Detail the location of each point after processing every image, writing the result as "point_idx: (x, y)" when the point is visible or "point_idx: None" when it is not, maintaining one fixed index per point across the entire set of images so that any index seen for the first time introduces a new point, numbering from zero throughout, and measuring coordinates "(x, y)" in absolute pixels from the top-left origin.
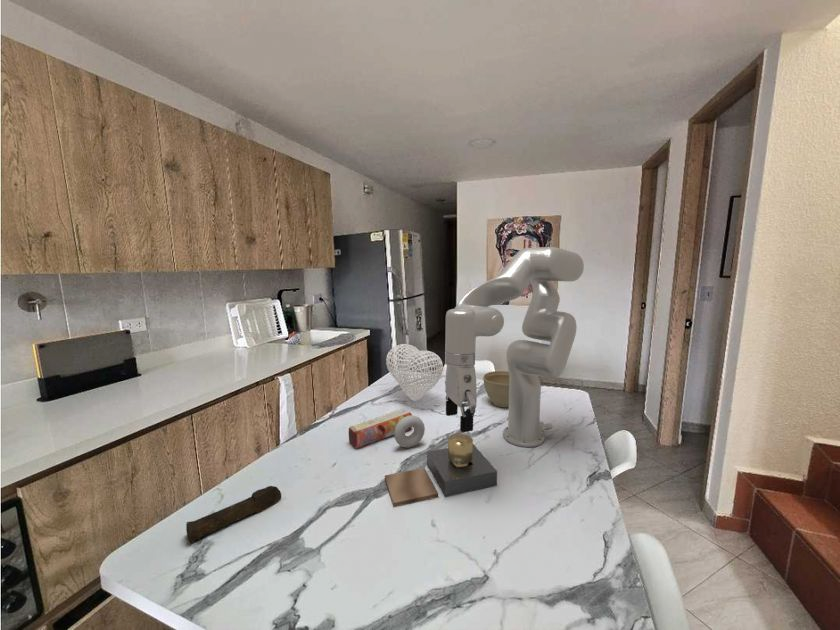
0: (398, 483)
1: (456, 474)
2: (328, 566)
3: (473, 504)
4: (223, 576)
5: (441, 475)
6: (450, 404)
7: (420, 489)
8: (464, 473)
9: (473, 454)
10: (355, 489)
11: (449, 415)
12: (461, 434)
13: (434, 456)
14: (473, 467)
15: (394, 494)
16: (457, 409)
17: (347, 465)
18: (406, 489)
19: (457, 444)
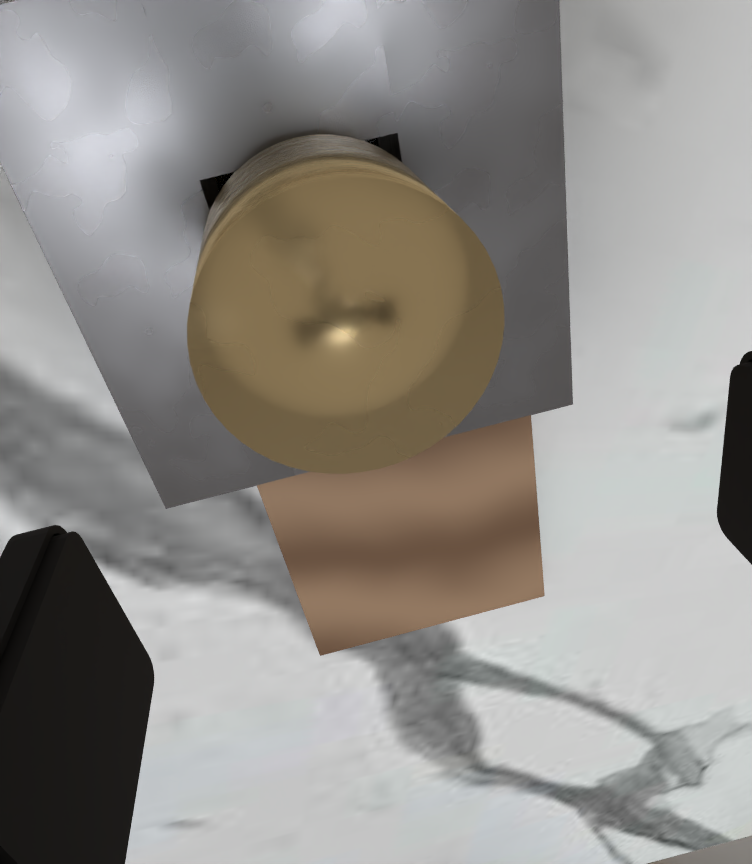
0: (400, 592)
1: (510, 315)
2: (734, 701)
3: (641, 183)
4: (664, 856)
5: (496, 420)
6: (88, 848)
7: (472, 492)
8: (514, 249)
9: (206, 83)
10: (384, 721)
11: (137, 638)
12: (207, 309)
13: (240, 457)
14: (443, 144)
15: (484, 599)
16: (18, 591)
17: (191, 785)
18: (459, 555)
19: (452, 387)
